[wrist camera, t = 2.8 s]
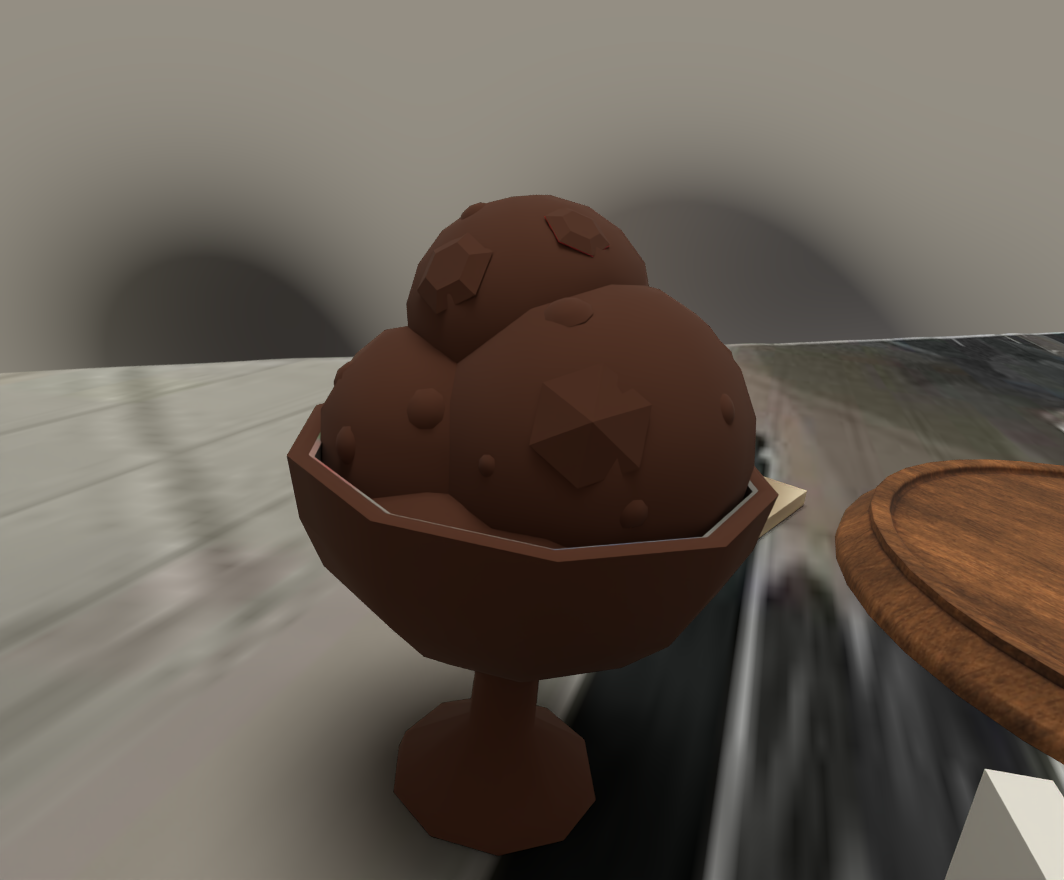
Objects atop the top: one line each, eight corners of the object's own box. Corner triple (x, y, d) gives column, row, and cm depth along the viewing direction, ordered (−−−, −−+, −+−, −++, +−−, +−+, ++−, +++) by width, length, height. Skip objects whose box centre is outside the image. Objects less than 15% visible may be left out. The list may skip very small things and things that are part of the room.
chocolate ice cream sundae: (189, 800, 20) (170, 160, 15) (461, 617, 30) (503, 178, 25) (559, 1068, 15) (707, 252, 10) (748, 749, 25) (875, 232, 20)
